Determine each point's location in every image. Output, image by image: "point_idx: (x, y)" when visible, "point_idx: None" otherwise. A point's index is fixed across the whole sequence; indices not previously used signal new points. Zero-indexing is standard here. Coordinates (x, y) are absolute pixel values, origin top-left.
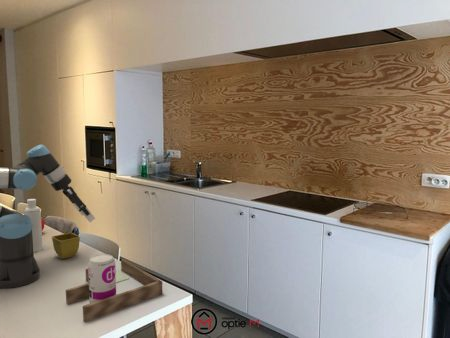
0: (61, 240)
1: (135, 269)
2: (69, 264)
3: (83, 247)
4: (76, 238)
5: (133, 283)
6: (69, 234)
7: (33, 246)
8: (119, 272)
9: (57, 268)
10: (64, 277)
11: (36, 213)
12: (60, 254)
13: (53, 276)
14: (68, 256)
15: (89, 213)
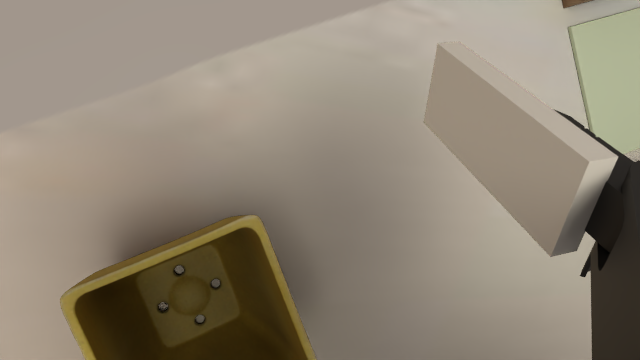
0: None
1: None
2: (354, 273)
3: (11, 163)
4: (270, 245)
5: None
6: (79, 310)
7: None
8: (592, 24)
9: (389, 339)
10: (525, 296)
11: None
12: (254, 342)
13: (490, 350)
14: (240, 283)
15: (563, 115)
